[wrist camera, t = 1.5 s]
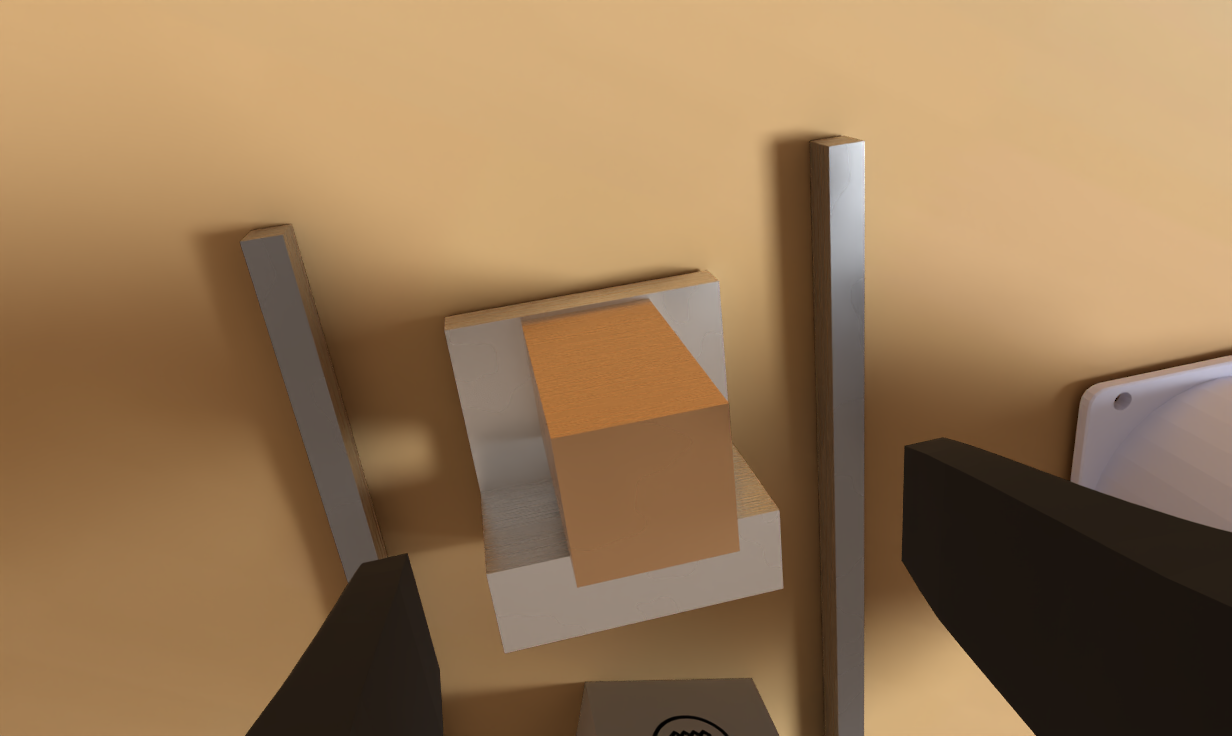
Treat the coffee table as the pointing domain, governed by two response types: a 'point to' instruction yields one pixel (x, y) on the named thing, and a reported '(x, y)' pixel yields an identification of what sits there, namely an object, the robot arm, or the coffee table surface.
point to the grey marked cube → (674, 708)
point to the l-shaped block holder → (609, 460)
